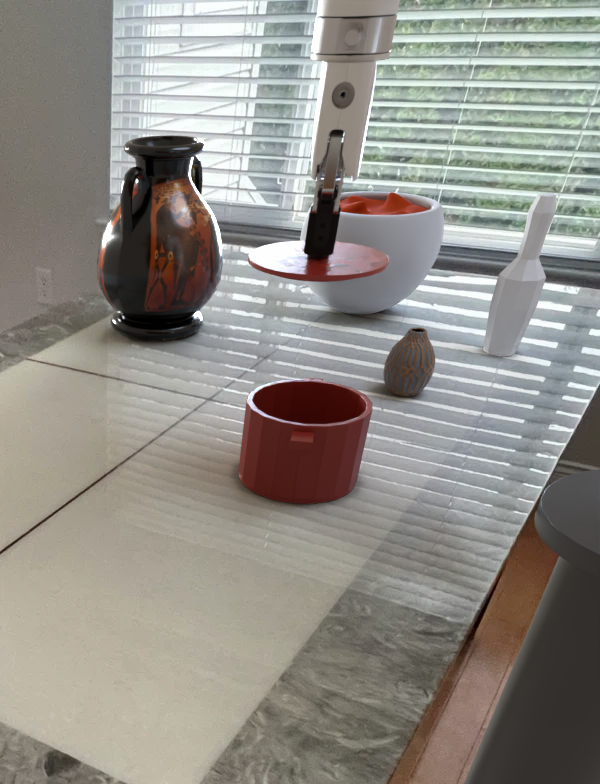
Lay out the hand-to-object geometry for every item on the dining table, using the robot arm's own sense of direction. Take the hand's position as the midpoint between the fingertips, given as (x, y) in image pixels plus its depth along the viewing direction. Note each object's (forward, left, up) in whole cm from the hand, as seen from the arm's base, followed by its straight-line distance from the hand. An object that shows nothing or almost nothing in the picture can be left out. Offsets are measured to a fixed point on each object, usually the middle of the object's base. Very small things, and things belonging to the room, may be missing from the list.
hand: (319, 249), depth 94 cm
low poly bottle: (-30, -47, -24) cm, 61 cm away
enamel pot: (-2, +6, -24) cm, 25 cm away
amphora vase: (+27, -48, -24) cm, 60 cm away
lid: (0, 0, -1) cm, 1 cm away
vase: (-15, -26, -24) cm, 39 cm away
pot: (-7, -67, -24) cm, 72 cm away
